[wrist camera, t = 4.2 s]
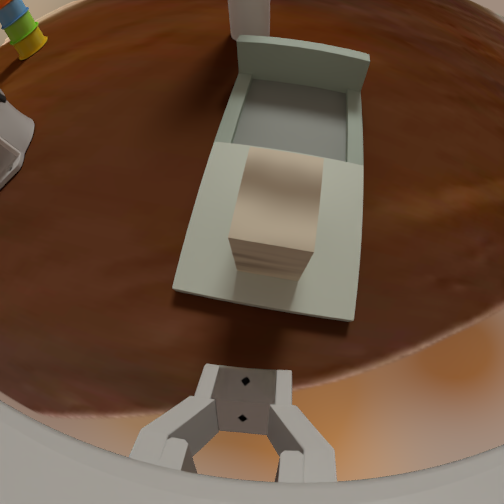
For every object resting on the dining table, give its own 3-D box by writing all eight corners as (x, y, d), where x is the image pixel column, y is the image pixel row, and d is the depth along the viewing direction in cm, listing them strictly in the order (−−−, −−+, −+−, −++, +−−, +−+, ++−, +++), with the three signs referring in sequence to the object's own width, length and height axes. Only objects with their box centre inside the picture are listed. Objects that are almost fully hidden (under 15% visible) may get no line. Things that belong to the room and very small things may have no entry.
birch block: (298, 281, 29) (314, 252, 20) (237, 270, 30) (227, 237, 21) (308, 207, 31) (323, 158, 23) (252, 198, 32) (249, 146, 23)
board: (349, 321, 29) (375, 312, 22) (176, 291, 31) (152, 273, 23) (357, 90, 39) (368, 54, 32) (242, 72, 41) (239, 34, 34)
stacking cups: (53, 38, 53) (13, -47, 20) (26, 61, 50) (-21, -24, 17) (39, 38, 55) (2, -38, 22) (15, 60, 52) (-29, -16, 19)
